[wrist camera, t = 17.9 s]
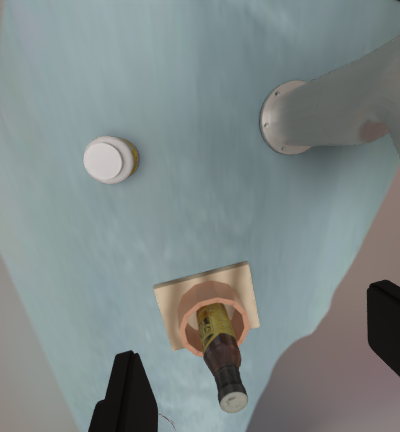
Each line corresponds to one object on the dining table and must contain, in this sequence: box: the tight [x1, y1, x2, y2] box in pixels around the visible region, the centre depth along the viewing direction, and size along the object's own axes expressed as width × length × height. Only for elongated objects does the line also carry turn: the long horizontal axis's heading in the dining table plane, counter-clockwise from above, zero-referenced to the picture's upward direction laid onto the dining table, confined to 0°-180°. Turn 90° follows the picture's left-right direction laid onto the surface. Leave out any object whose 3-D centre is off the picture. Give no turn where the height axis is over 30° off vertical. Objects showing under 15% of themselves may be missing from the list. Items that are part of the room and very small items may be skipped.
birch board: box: [154, 261, 260, 351], centre depth 53 cm, size 20×16×2 cm
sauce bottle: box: [196, 302, 248, 413], centre depth 43 cm, size 6×6×20 cm
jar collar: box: [178, 280, 250, 357], centre depth 49 cm, size 13×13×6 cm
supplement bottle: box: [84, 136, 139, 184], centre depth 37 cm, size 7×7×13 cm
